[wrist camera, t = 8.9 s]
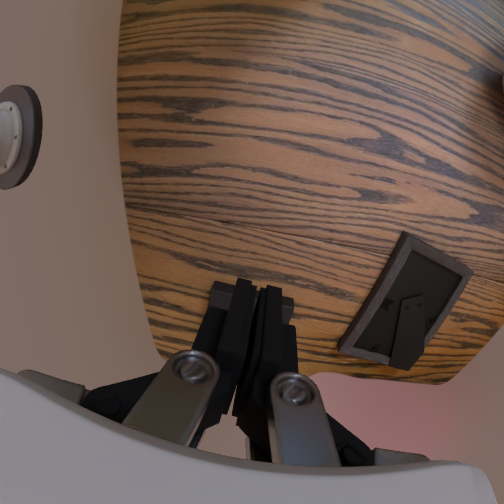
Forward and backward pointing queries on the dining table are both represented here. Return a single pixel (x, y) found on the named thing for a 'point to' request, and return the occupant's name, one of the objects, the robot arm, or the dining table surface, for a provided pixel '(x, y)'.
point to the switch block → (224, 293)
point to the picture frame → (406, 304)
